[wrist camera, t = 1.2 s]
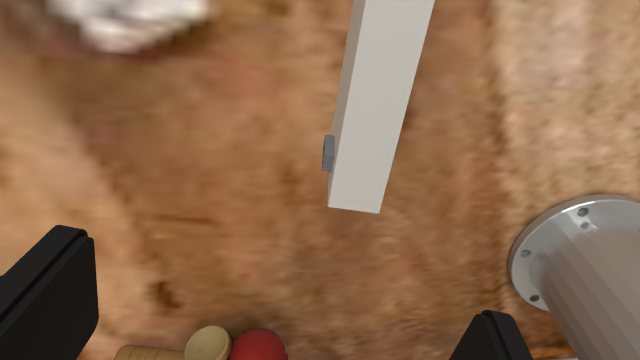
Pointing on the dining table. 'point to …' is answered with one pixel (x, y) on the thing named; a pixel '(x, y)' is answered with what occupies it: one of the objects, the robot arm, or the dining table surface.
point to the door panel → (372, 99)
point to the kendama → (215, 347)
